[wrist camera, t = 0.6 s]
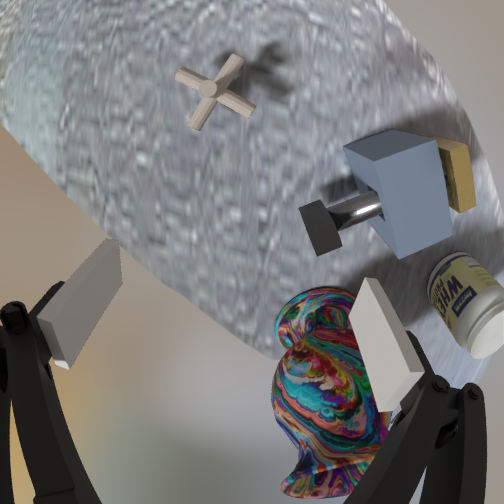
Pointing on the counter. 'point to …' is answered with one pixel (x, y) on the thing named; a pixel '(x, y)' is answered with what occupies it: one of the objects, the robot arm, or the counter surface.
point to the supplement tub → (468, 303)
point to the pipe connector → (215, 91)
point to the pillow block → (403, 188)
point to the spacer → (457, 173)
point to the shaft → (340, 218)
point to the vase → (325, 396)
